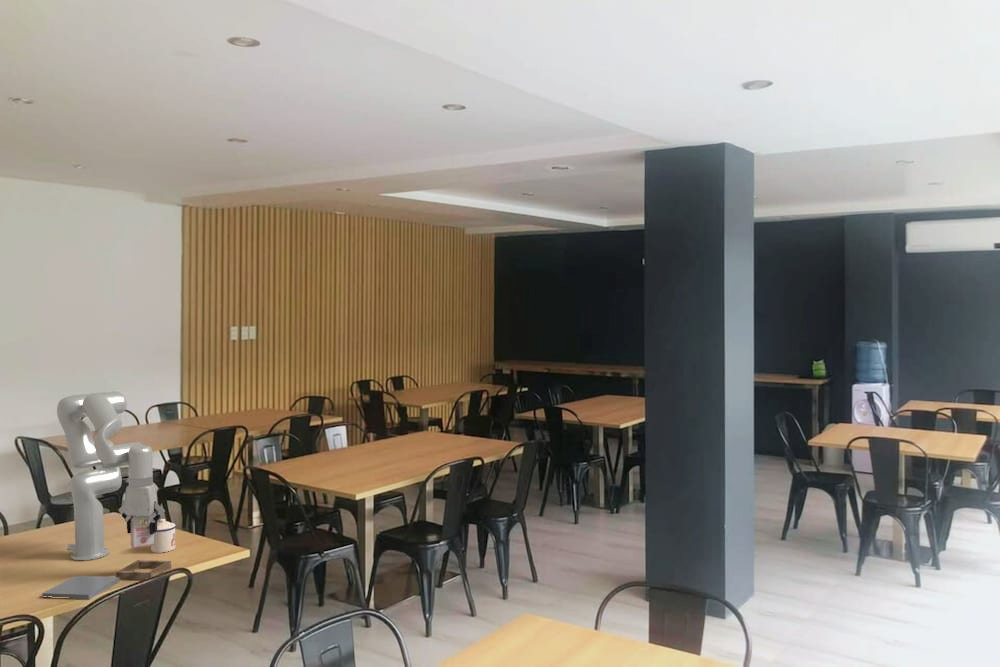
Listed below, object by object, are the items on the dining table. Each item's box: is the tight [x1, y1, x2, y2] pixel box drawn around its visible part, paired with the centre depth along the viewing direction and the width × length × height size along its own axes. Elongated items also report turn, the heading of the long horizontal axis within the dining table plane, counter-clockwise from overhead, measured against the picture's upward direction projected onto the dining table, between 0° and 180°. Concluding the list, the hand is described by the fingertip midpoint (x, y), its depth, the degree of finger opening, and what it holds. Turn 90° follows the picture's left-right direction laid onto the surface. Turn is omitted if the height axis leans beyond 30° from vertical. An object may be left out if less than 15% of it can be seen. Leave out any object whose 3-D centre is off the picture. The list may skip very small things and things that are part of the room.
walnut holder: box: [115, 559, 172, 581], centre depth 271 cm, size 12×12×2 cm
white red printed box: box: [130, 516, 154, 549], centre depth 271 cm, size 4×7×10 cm, turn 123°
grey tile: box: [41, 575, 121, 600], centre depth 257 cm, size 16×16×2 cm
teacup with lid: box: [150, 518, 177, 554], centre depth 299 cm, size 12×9×12 cm
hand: (142, 532), depth 271 cm, fingers closed on white red printed box, 7 cm apart
